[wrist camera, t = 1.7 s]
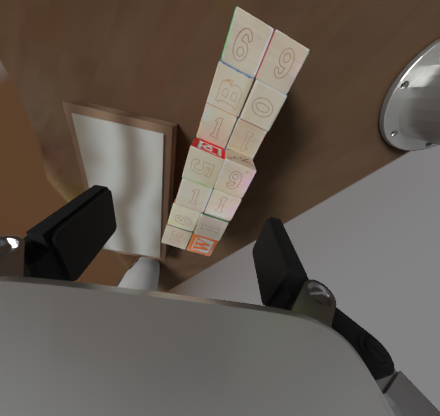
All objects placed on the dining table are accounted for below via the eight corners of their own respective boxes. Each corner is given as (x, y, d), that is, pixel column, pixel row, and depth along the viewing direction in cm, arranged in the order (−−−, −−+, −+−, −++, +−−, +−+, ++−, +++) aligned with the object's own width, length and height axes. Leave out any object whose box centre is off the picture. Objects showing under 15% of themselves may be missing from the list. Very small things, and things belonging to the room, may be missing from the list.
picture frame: (177, 123, 24) (171, 127, 21) (169, 249, 38) (164, 261, 35) (80, 100, 23) (60, 101, 20) (108, 239, 37) (99, 251, 34)
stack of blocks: (232, 39, 19) (240, -26, 9) (280, 67, 20) (336, 38, 10) (181, 193, 30) (159, 244, 20) (214, 205, 31) (209, 258, 21)
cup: (130, 248, 38) (104, 291, 30) (166, 255, 39) (151, 298, 31) (132, 270, 43) (110, 313, 34) (165, 275, 43) (151, 318, 35)
